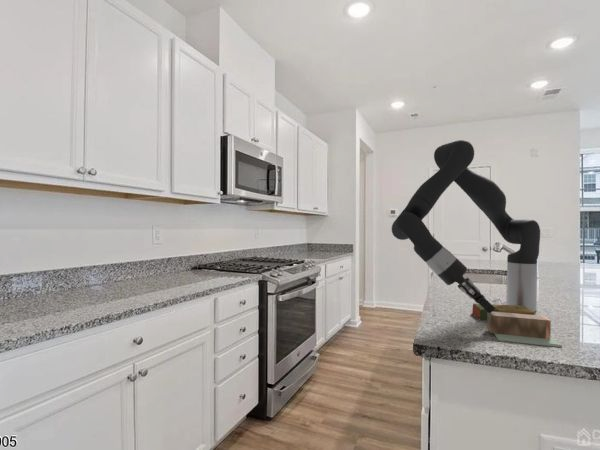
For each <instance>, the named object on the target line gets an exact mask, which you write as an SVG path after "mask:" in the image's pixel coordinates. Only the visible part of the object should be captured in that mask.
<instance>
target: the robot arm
mask: <svg viewBox="0 0 600 450" xmlns="http://www.w3.org/2000/svg"><path fill="white" fill-rule="evenodd" d="M474 157H475V148H474V146H473V144H472V143H471V142H470V141H468V140H467V139H460V140H456V141H451V142H448V143H445V144H442V145H439V146H438V147H437V148H436V149H435V151H434V152H433V159H434V162H435V164H436V166H437V168H438V169H439V170H437V171H436V172H435V173H434V174H433V175H431V176H430V177H429V178H428V179H427V180H425V182H423V183H422V184H421V185H420V186H419V187H418V188H417V190H416V191H415V192H414V194H413V195H412V197H411V198H410V199H409V201H408V203H407V204H406V206H405V208H404V209H403V210H402V211H401V213H399V215H398V216H397V217H396V219H395V220H394V222H393V223H392V225H391V233H392V236H394V238H396V239H398V240H400V241H404V240H405V241H406V240H408V239H409V241H410V242H411V243H412V244H413V250H414V252H415V253H416V254H417V256H418V257H419V258H420V259H422V261H424V262H425V263H426V265H427V266H428V267H429V268H430V269H431V271H433V272H434V273H435V275H436V276H437V277H439V278H440V280H441V281H442V282H443V283H444V284H446V285H447V286H451V285H453V284H454V283H457V287H458V289H459V290H460V291H461V292H462V293H464V294H465V295H467V297H468V298H470V299H472V300H474V302H475V304H480V305H481V306H482V307H483V308H484V309H485V310H486V311H487V312H488V313H491V312H492V311H493V310H495V308H494V307H493V306H492V305H491V302H489V301H488V300H487V299H486V296H484V294H482V292H481V290H480V289H479V288H478V286H476V285H475V284H474V282H473V280H471V279H470V278H469V277H466V278H465V277H464V275H465V274H466V273H467V271H468V268H467V266H466V265H465V264H464V263H463V262H461V261H460V260H459V259H458V258H457V256H455V254H453V253H452V252H451V251H450V250H448V249H447V248H446V247H445V246H443V245H442V243H440V241H438V240H437V239H436V238H435V237H434V236H433V235H432V233H431V232H430V230H429V229H428V227H427V226H426V225H425V223H424V221H423V220H424V218H426V216H428V214H429V213H430V212H431V211H432V209H433V208H434V206H435V205H436V203H437V202H438V200H439V199H440V198H441V196H442V195H443V194H444V193H445V191H446V190H447V189H448V188H449V187H450V185H451V184H453V182H454V183H455V184H456V185H457V186H458V187H459V188H460V189H461V190H462V191H463V192H464V193H465V194H466V195H467V196H468V197H469V198H470V200H471V201H472V202H473V204H475V205H476V206H477V208H478V209H480V210H481V212H482V213H484V215H485V216H486V218H488V219H489V221H490V222H491V223H492V224H493V226H494V228H495V229H496V231H498V233H499V234H500V236H501V237H502V239H504V240H505V241H506V242H507V243H509V244H512V245H513V244H514V245H520V247H519V249H518V250H517V251H514V252H511V253H509V254H508V255H507V257H506V258H507V259H506V260H507V261H506V264H507V265H506V267H507V268H506V270H507V273H506V274H507V275H506V278H507V279H506V303H505V305H517V306H525V307H527V308H529V309H530V310H532V311H534V312H537V311H538V310H537V308H538V306H537V305H538V303H537V302H538V301H537V300H538V299H537V298H538V294H537V293H538V259H539V256H540V255H539V254H540V241H541V229H540V228H541V227H540V225H539V223H538V222H537V221H536V220H534V219H515V218H513V217H511V216H510V215H509V214H508V213H507V211H506V206H507V198H506V195H505V192H504V191H503V190H502V189H501V188H500V186H499V185H498V184H496V183H495V181H493V180H492V179H490V178H489V177H486V176H484V175H482V174H479V173H478V172H475V171H473V170H472V169H470V168H468V167H469V166H470V165H471V164H472V162H473V160H474Z"/></svg>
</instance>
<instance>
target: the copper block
mask: <svg viewBox="0 0 600 450" xmlns="http://www.w3.org/2000/svg"><path fill="white" fill-rule="evenodd" d="M551 321H552V320H551V319H549V318H548V317H547V316H545V315H539V314H535V315H528V314H517V313H505V312H493V311H492V312H491V313H488V312H487V321H486V324H487V325H486V328H487V330H488V331H489V333H490V334H493V335H495V334H504V335H513V336H523V337H533V338H542V339H550V336H551V335H552V334H551V325H552V324H551Z"/></svg>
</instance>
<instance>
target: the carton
mask: <svg viewBox="0 0 600 450" xmlns="http://www.w3.org/2000/svg"><path fill="white" fill-rule="evenodd" d="M490 304H491V303H490ZM491 305H492V306H493V307H494V308H495V310H493V312H505V313H517V314H528V315H536V314H535V311H532V310H530V309H529V308H527V307H525V306H517V305H506V304H491ZM471 311H472V312H471V313H472V315H473V316H474V315H475V316H474V317H475V318H477V319H478V320H479V319H480V320H479V321H485V320H487V311H486V310H485V309H484V308H483V307H482V306H481V305H480V304H478V303H473V304H472V310H471Z"/></svg>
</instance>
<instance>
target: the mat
mask: <svg viewBox="0 0 600 450" xmlns="http://www.w3.org/2000/svg"><path fill="white" fill-rule="evenodd" d="M494 336H495V338H496V339H497V340H498V341H501V342H502V341H503V342H510V343H519V344H521V343H522V344H529V345H530V344H531V345H537V346H538V345H539V346H546V347H555V348H556V347H557V348H562V347H563V345H562V344H561V343H560V342H559V341H557V340H556V339H555V338H554V337H553V336H552V335H550V339H542V338H533V337H523V336H513V335H504V334H494Z"/></svg>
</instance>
